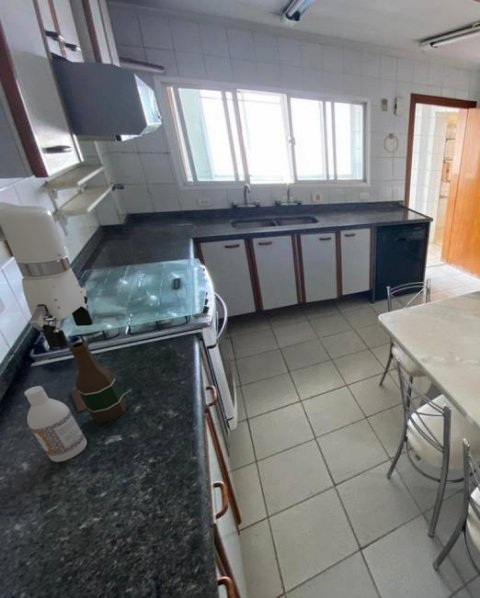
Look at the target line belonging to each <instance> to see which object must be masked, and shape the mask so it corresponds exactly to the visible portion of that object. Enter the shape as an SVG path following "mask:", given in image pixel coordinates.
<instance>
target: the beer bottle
mask: <svg viewBox="0 0 480 598" xmlns="http://www.w3.org/2000/svg"><path fill="white" fill-rule="evenodd" d="M68 351H69V352H70V353H72V357H73V359H74V361H75V364H76V367H77V370H78V375H77V377H76V380H75V386H76V390H77V389H78V392H79V394H80V395H81V397H82V399H83V401H84V403H85V405H86V407H87V409H86V410H88V412H89V414H90V417H91V418H92V419H93V420H94V421H95V422H98V423H99V424H102V423H108V422H112V421H114V420H116V419H117V418H119V417H120V416H122V415H124V414H125V412H126V410H127V408H128V405H127V402H126V399H125V397H124V395H123V392H122V390H121V388H120V386H119V384H118V382H117V378H116V379H115V377H114V376H115V375H114V373H113V372H111V371H110V370H109V369H107V368H105V367H103V366H101V365H100V364H99V363H98V361H97V360H96V358H95V356H94V355H93V353H92V351H91V350H90V345H89V344H88V342H85V341H79V342H75V343H73V344H71V345H70V346H69V347H68Z"/></svg>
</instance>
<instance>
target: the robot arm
mask: <svg viewBox="0 0 480 598" xmlns="http://www.w3.org/2000/svg"><path fill="white" fill-rule="evenodd" d="M4 241H6V242H7V245H8V246H9V248H10V251H11V254H12V255H13V259H14V260H15V263H16V265H17V267H18V269H19V272H20V274H21V277H22V278H21V286H22V291H23V294H24V298H25V302H26V304H27V308H28V310H29V313H30V315H31V318H30V319H29V325H30V326H32V327H33V328H34V329H35V331H37V332H39V333H40V334H43V336H44V338H45V339H46V342H47V345H48V347H49V348H50V349H51V348H52V349H53V348H55V349H56V348H66V347H68V346H69V342H68V339H67V336H66V334H65V332H64V330H63V329H61V326H62V325H61V324H62V321H63V320H65V318H67V317H69V316H71V317H72V318H73V321H74V323H75V326H76V327H84V326H86V327H87V326H92V325H94V322H93V319H92V317H91V314H90V312H89V304H88V301H89V300H88V299H89V298H88V297H87V288H85V287H81V285H80V283H79V280H78V278H77V277H76V274H75V273H74V271H73V268H72V266H71V263H70V260H69V258H68V255H67V253H66V249H65V247H64V244H63V242H62V241H63V240H62V239H61V236H60V233H59V230H58V228H57V225H56V222H55V219H54V216H53V215H52V213H51V211H50V210H49V209H47V208H46V207H43V206H37V205H17V204H13V203H10V202H3V201H0V242H4ZM51 322H52V323H53V324H52V325H50V324H49V323H51Z"/></svg>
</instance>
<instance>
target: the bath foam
mask: <svg viewBox="0 0 480 598" xmlns="http://www.w3.org/2000/svg"><path fill="white" fill-rule="evenodd" d="M24 396H25V397H26V398H27V401H28V402H29V404H30V407H29V410H28V412H27V416H26V421H27V425H28V428H29V429H30V430H31V432H32V433H33V435H34V436H35V438H36V440H37V441H38V443H39V444H40V446H41V447H42V449H43V450H44V452H45V453H46V455H47V457H48V458H49V459H50V461H52V462H54V463H55V462H56V463H60V462H61V463H62V462H65V461H68V460H71V459H72V458H74V457H76V456H78V455H79V454H81V453H82V452H83V451H84V450H85V449H86V447H87V444H88V441H87V440H88V439H86V436H85V435H84V433H83V431H82V429H81V428H80V426H79V424H78V423H77V421H76V418H75V417H74V416H73V414H72V411H71V410H70V408H69V407H68V406H67V405H66V404H65V403H63V401H60V400H57V399H54V398H50V397H49V396H48V394H47V393H46V391H45V389H44V387H43V386H41V385H36V386H32V387H30V388H28V389H26V390H25V391H24Z"/></svg>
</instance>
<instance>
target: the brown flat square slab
mask: <svg viewBox="0 0 480 598" xmlns="http://www.w3.org/2000/svg"><path fill="white" fill-rule="evenodd" d="M113 376H114V377H115V379H116V380H117V375H113ZM70 395H71V398H72V399H73V403H74V405H75V408H76V410H77V412H78V413H81V412H84V411H86V410H88V409H87V407H86V405H85V403H84V401H83V399H82V397H81V395H80V394H79V392H78V389H77V388H76V389H74V390H72V391H70Z"/></svg>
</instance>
